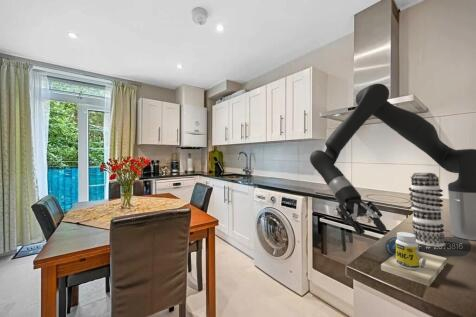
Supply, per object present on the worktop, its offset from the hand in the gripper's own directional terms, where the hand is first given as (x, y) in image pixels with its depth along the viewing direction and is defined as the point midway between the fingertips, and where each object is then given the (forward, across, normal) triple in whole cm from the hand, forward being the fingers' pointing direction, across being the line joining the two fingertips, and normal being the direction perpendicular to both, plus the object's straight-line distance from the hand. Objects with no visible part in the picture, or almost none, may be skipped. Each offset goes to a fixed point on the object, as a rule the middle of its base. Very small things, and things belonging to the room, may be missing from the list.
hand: (373, 232), depth 66 cm
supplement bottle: (+11, 0, -2) cm, 12 cm away
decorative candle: (+4, +28, +7) cm, 29 cm away
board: (+11, +5, 0) cm, 12 cm away
